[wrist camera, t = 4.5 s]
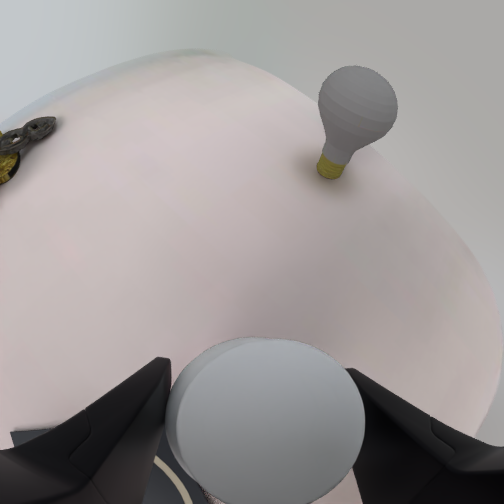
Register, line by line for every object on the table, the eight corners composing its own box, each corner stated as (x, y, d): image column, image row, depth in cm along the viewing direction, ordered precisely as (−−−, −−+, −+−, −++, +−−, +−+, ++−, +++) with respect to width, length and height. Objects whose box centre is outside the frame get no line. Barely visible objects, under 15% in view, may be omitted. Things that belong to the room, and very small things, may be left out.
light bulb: (365, 201, 22) (424, 102, 13) (304, 199, 21) (351, 81, 12) (344, 155, 24) (385, 64, 16) (288, 151, 23) (319, 46, 15)
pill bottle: (248, 345, 15) (297, 262, 7) (308, 419, 13) (428, 424, 5) (165, 398, 13) (92, 389, 5) (227, 476, 11) (251, 572, 3)
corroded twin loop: (64, 131, 23) (63, 122, 22) (-1, 165, 17) (-4, 156, 17) (48, 119, 24) (47, 111, 23) (-10, 149, 18) (-12, 141, 18)
